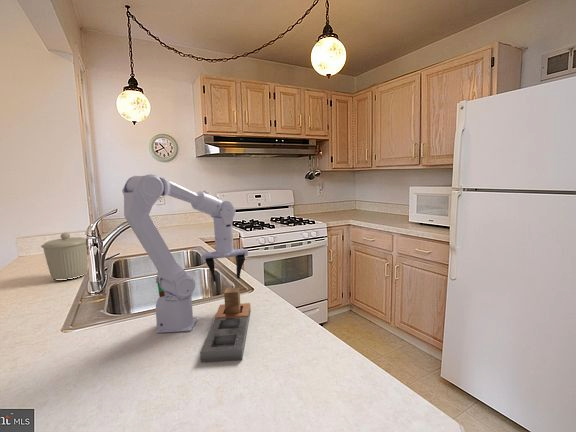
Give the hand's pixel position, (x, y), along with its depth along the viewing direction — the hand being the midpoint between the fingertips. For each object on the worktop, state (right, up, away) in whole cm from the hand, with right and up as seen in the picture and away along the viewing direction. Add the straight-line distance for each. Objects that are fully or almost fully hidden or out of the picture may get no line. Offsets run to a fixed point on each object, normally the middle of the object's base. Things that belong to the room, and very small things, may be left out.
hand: (226, 279), depth 101 cm
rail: (+4, -11, -17) cm, 21 cm away
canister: (-81, -8, +42) cm, 91 cm away
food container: (-20, -9, +10) cm, 24 cm away
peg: (+4, -10, -8) cm, 14 cm away
